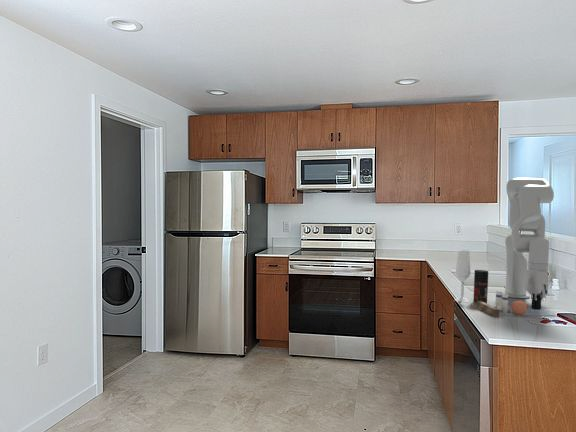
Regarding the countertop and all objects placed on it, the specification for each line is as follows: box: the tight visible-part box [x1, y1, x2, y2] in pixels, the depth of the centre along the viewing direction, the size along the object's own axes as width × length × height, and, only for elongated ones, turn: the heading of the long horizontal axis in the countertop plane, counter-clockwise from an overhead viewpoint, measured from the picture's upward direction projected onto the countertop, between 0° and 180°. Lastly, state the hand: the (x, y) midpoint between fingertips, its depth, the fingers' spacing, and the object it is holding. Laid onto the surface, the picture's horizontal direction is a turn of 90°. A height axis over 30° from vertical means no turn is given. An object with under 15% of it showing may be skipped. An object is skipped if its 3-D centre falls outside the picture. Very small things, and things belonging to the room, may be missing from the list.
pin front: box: [492, 305, 512, 312], centre depth 194 cm, size 2×2×8 cm
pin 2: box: [501, 293, 509, 314], centre depth 192 cm, size 2×2×8 cm
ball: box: [510, 300, 528, 316], centre depth 190 cm, size 6×6×6 cm
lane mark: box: [499, 308, 556, 317], centre depth 195 cm, size 11×25×1 cm, turn 92°
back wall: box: [475, 301, 500, 318], centre depth 194 cm, size 16×2×3 cm, turn 3°
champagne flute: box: [454, 249, 471, 303], centre depth 216 cm, size 7×7×24 cm
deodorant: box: [472, 269, 489, 304], centre depth 212 cm, size 6×6×15 cm
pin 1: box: [495, 290, 503, 306], centre depth 197 cm, size 2×2×8 cm
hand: (536, 309), depth 195 cm, fingers closed
